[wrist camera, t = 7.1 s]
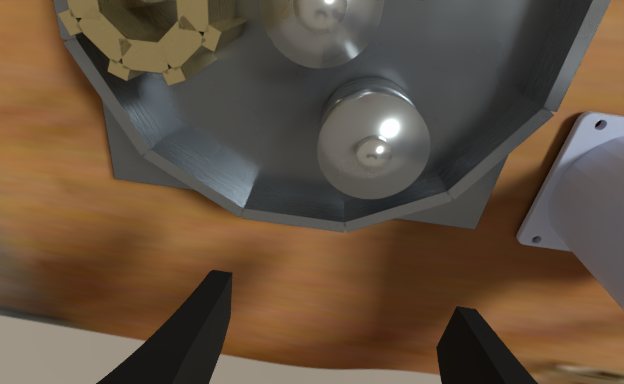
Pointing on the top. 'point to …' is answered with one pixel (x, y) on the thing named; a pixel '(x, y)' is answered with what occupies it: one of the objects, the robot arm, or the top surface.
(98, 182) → the top surface
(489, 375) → the robot arm
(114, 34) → the gear
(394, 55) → the carrier
